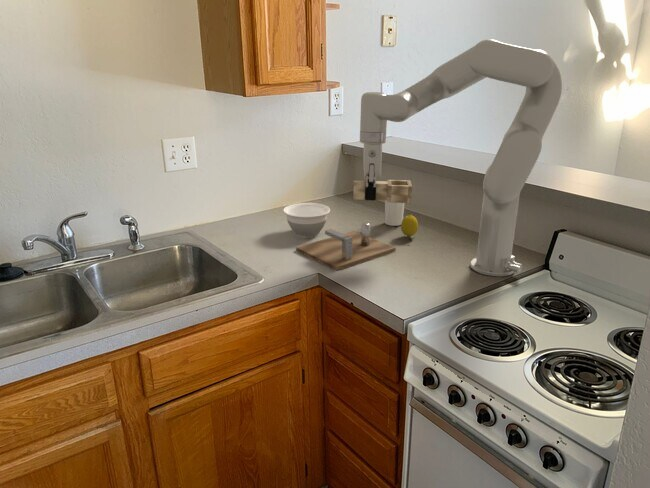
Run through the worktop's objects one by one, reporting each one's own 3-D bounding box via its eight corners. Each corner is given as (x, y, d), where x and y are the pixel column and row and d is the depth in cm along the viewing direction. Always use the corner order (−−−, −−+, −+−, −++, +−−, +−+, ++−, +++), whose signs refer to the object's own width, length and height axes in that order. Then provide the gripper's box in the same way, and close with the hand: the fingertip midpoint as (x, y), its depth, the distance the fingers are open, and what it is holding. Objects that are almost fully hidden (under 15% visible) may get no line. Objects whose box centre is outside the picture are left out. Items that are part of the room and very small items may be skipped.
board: (395, 251, 168) (395, 247, 168) (336, 270, 154) (336, 266, 154) (353, 234, 183) (353, 230, 182) (296, 250, 169) (296, 247, 168)
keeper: (352, 258, 160) (352, 237, 157) (346, 260, 158) (346, 239, 156) (331, 248, 167) (331, 228, 165) (325, 250, 166) (325, 230, 163)
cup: (402, 220, 197) (404, 182, 191) (407, 227, 189) (409, 188, 184) (380, 220, 196) (382, 182, 191) (384, 227, 189) (385, 188, 184)
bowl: (278, 228, 189) (277, 205, 186) (321, 223, 194) (321, 200, 190) (291, 243, 175) (290, 218, 172) (336, 238, 179) (337, 213, 176)
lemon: (416, 234, 182) (418, 212, 179) (417, 240, 177) (419, 217, 174) (400, 234, 183) (401, 211, 180) (400, 240, 177) (402, 217, 174)
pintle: (371, 244, 170) (372, 223, 168) (365, 246, 168) (365, 225, 166) (365, 242, 172) (366, 221, 170) (359, 244, 170) (359, 223, 168)
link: (409, 196, 163) (410, 180, 162) (411, 203, 157) (412, 186, 155) (353, 194, 164) (354, 178, 163) (353, 201, 158) (353, 184, 156)
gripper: (386, 142, 146) (383, 206, 153) (385, 132, 162) (382, 191, 168) (359, 141, 147) (357, 205, 154) (360, 131, 162) (358, 190, 169)
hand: (370, 197), depth 161 cm, fingers closed on link, 3 cm apart
